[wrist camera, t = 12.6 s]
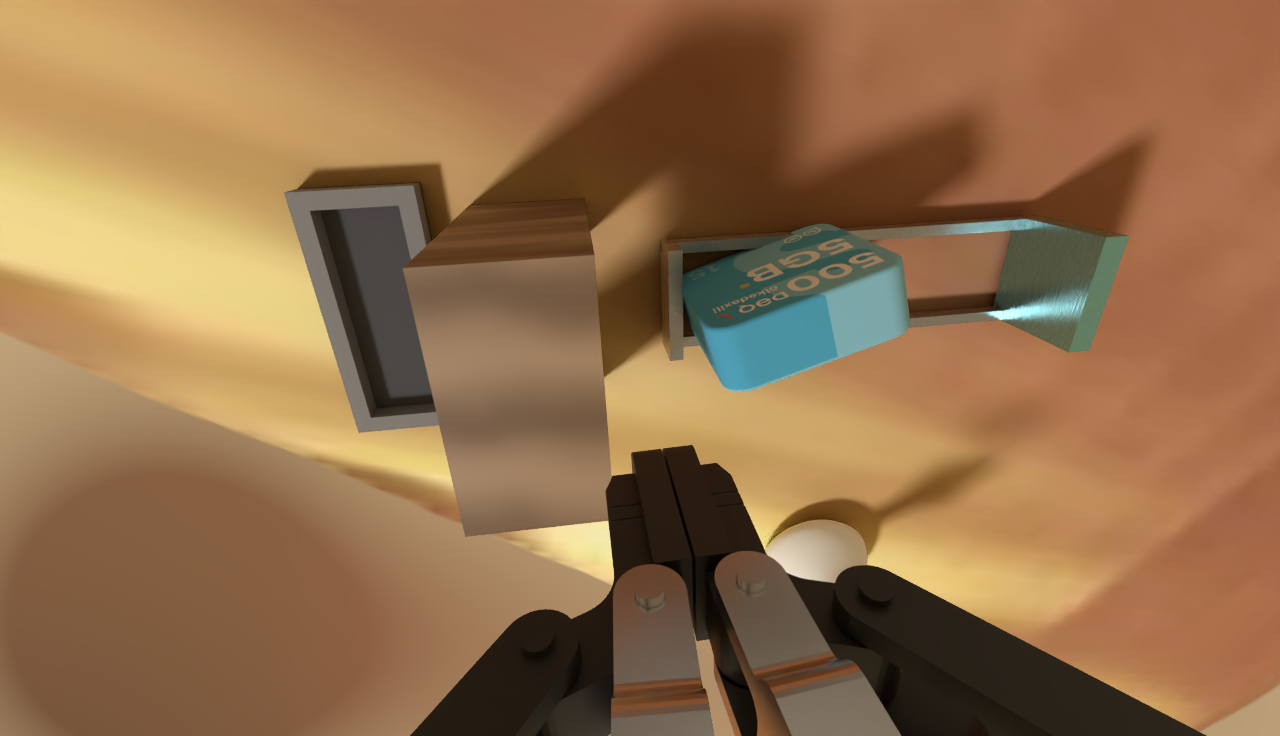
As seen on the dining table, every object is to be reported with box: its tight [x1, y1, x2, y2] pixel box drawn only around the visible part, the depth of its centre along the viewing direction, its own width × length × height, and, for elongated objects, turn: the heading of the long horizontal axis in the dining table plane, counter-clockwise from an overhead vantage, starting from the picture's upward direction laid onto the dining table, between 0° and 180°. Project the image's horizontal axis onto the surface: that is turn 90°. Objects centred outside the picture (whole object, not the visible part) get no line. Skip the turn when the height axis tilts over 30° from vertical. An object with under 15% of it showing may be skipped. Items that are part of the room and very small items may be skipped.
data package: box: [682, 224, 910, 392], centre depth 37 cm, size 12×4×12 cm, turn 109°
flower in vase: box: [765, 519, 867, 583], centre depth 45 cm, size 13×11×25 cm
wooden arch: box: [403, 199, 612, 536], centre depth 34 cm, size 15×8×17 cm, turn 2°
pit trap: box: [284, 182, 439, 433], centre depth 40 cm, size 18×8×2 cm, turn 2°
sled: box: [660, 215, 1129, 361], centre depth 40 cm, size 8×30×8 cm, turn 92°
